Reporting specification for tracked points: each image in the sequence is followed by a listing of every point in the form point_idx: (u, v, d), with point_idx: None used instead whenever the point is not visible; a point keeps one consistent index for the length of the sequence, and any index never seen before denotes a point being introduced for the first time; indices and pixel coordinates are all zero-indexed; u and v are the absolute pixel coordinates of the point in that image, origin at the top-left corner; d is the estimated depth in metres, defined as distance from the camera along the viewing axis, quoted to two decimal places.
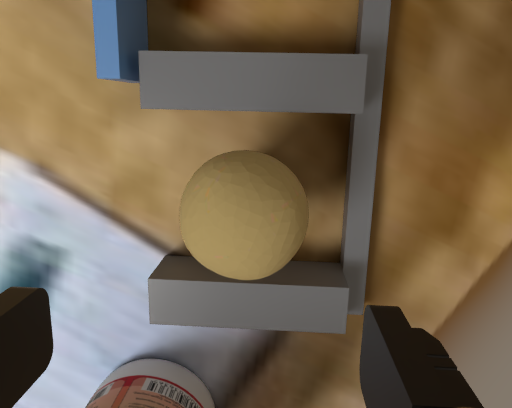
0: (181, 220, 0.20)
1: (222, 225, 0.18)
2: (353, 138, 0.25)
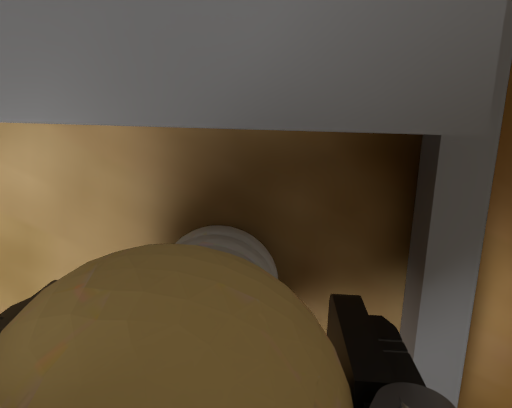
0: None
1: None
2: (435, 184, 0.12)
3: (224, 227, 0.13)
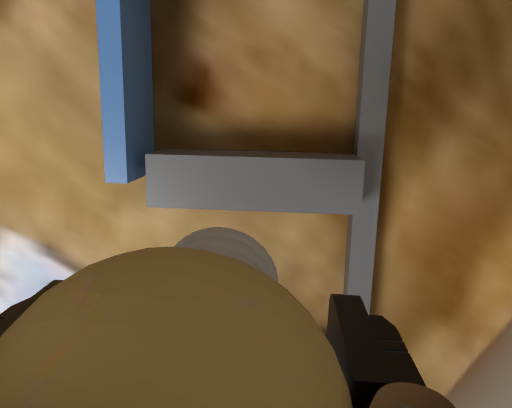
0: None
1: None
2: (352, 228, 0.26)
3: (224, 229, 0.13)
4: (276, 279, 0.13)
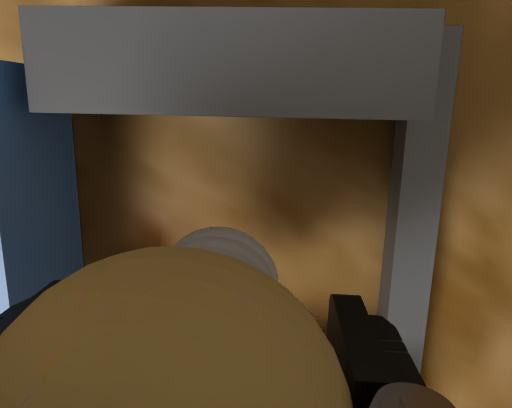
0: None
1: None
2: None
3: (224, 229, 0.13)
4: (276, 279, 0.13)
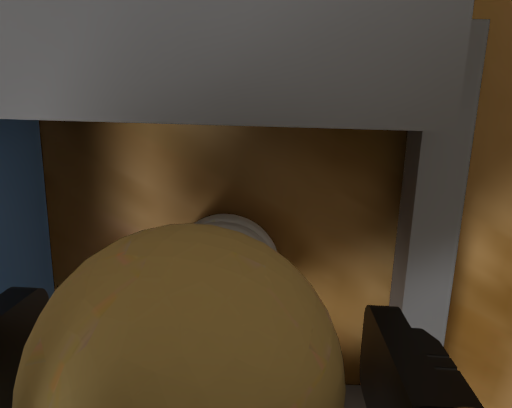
0: None
1: None
2: None
3: (230, 215, 0.14)
4: None
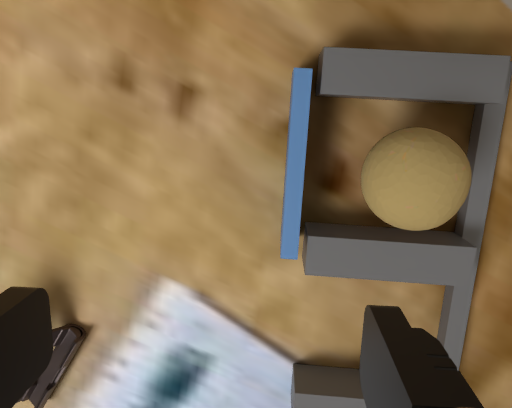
0: (373, 179, 0.25)
1: (418, 181, 0.23)
2: (453, 291, 0.34)
3: None
4: None
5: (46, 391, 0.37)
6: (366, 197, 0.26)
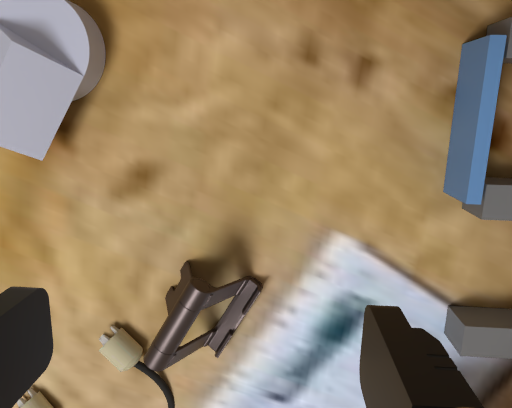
0: None
1: None
2: None
3: None
4: None
5: (230, 336, 0.42)
6: None
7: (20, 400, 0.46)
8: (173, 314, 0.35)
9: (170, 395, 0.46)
